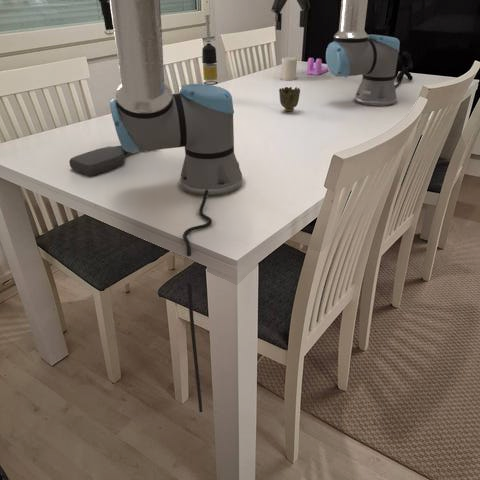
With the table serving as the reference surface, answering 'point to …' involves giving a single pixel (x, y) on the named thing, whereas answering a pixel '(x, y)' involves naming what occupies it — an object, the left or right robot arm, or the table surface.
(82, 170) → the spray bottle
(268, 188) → the table surface
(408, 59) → the squiggle
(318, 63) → the bracket
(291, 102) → the cup
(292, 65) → the canister
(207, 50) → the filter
